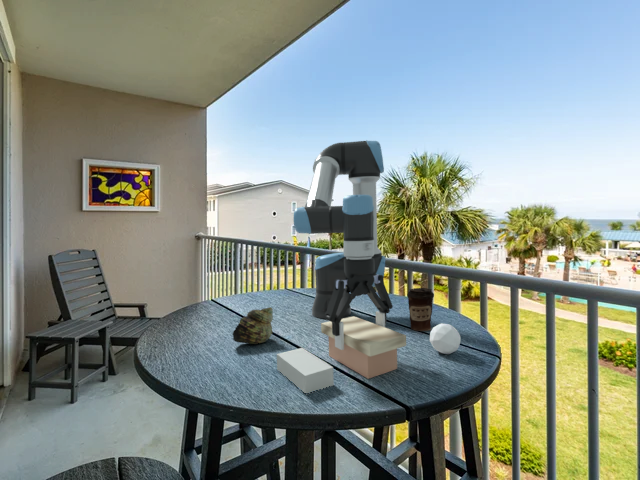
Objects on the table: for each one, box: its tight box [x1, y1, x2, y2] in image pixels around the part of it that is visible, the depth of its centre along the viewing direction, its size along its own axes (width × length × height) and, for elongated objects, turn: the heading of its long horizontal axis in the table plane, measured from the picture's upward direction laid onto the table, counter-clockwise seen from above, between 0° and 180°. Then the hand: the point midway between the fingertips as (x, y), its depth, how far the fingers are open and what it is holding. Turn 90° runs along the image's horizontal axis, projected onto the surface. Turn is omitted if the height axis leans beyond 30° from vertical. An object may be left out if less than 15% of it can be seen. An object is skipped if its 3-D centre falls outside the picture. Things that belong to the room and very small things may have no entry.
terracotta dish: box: [328, 336, 398, 380], centre depth 84 cm, size 16×9×6 cm, turn 32°
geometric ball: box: [429, 323, 461, 355], centre depth 89 cm, size 8×8×8 cm
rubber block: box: [276, 347, 335, 394], centre depth 77 cm, size 14×7×4 cm, turn 32°
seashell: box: [232, 307, 274, 345], centre depth 101 cm, size 11×11×10 cm
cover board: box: [320, 315, 407, 357], centre depth 84 cm, size 20×11×2 cm, turn 32°
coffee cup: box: [407, 287, 435, 332], centre depth 108 cm, size 9×8×13 cm
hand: (360, 342), depth 84 cm, fingers open, 12 cm apart
